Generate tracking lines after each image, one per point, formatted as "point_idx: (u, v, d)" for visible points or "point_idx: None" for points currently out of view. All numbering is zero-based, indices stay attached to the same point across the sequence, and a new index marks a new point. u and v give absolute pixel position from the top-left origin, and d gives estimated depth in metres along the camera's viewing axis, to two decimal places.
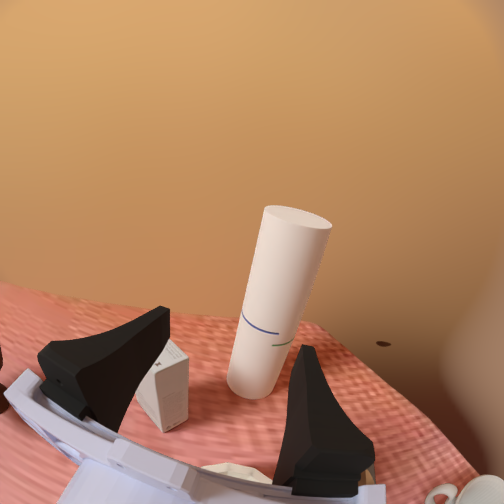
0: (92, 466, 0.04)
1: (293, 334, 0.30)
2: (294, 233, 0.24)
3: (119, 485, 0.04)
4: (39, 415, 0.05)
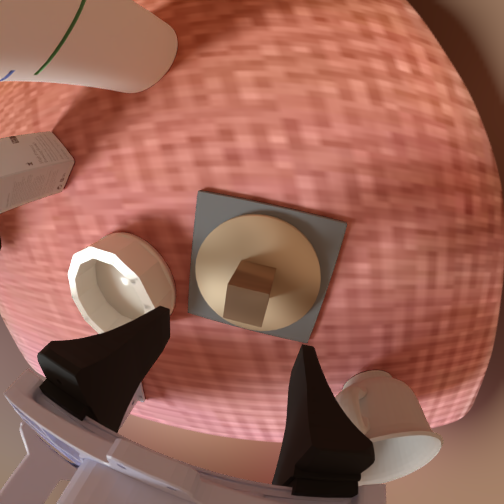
0: (92, 466, 0.04)
1: (51, 32, 0.06)
2: None
3: (119, 485, 0.04)
4: (39, 415, 0.05)
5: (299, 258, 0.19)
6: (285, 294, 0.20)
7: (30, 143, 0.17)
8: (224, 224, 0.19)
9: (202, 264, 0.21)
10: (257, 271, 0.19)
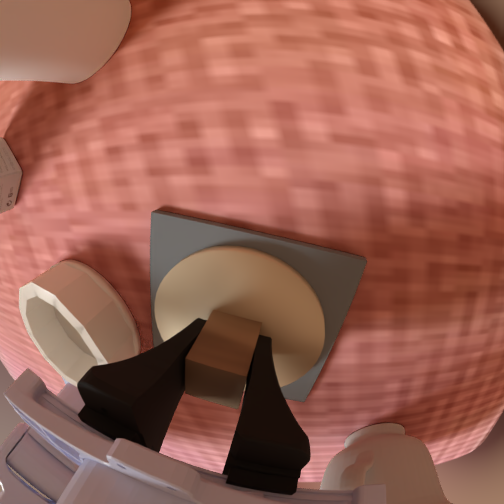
0: (92, 465, 0.04)
1: None
2: None
3: (119, 485, 0.04)
4: (39, 415, 0.05)
5: (296, 311, 0.13)
6: (275, 354, 0.14)
7: None
8: (186, 261, 0.13)
9: (162, 311, 0.15)
10: (233, 331, 0.12)
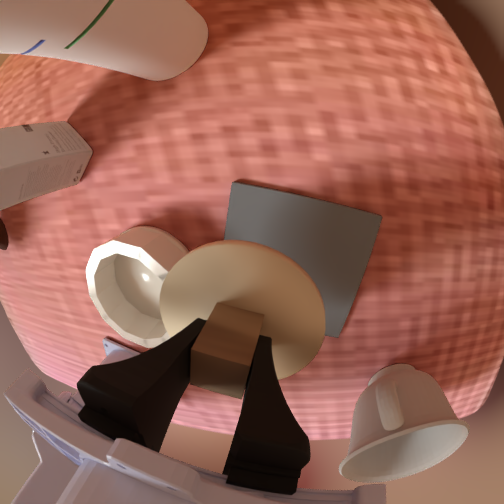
0: (92, 466, 0.04)
1: (92, 1, 0.05)
2: None
3: (119, 485, 0.04)
4: (39, 415, 0.05)
5: (297, 304, 0.13)
6: (277, 345, 0.15)
7: (45, 132, 0.16)
8: (191, 255, 0.13)
9: (167, 304, 0.15)
10: (237, 322, 0.13)
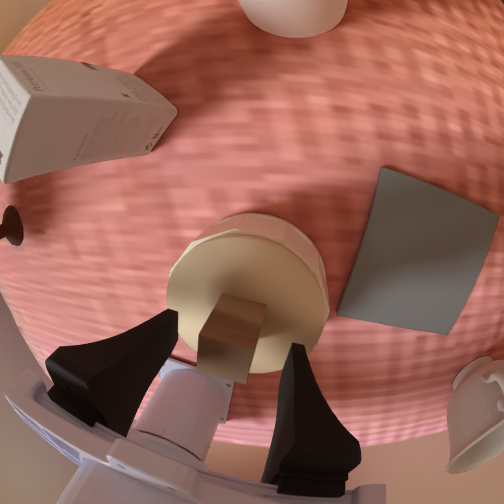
0: (92, 466, 0.04)
1: None
2: None
3: (119, 485, 0.04)
4: (39, 415, 0.05)
5: (297, 294, 0.14)
6: (278, 335, 0.16)
7: (114, 75, 0.12)
8: (198, 248, 0.14)
9: (174, 296, 0.16)
10: (241, 311, 0.14)
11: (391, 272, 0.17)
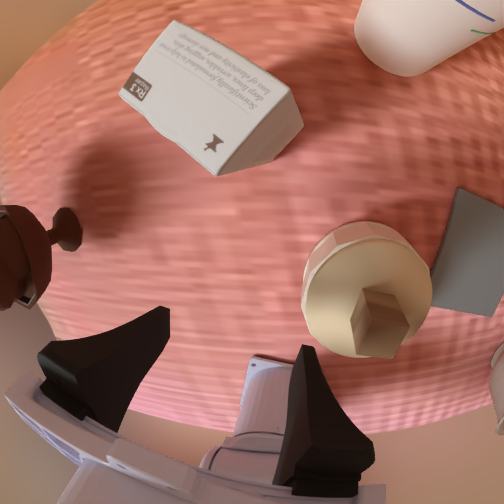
0: (92, 465, 0.04)
1: None
2: None
3: (119, 485, 0.04)
4: (39, 415, 0.05)
5: (417, 285, 0.16)
6: None
7: None
8: (349, 251, 0.16)
9: (315, 294, 0.18)
10: (384, 301, 0.16)
11: (459, 267, 0.19)
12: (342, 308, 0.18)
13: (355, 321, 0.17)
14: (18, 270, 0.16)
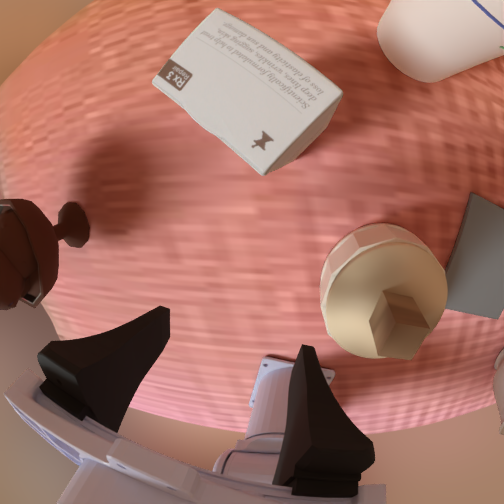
0: (92, 466, 0.04)
1: None
2: None
3: (119, 485, 0.04)
4: (39, 415, 0.05)
5: (434, 287, 0.16)
6: None
7: None
8: (372, 253, 0.16)
9: (337, 296, 0.18)
10: (404, 303, 0.16)
11: (470, 270, 0.19)
12: (362, 309, 0.18)
13: (375, 323, 0.16)
14: (24, 268, 0.16)
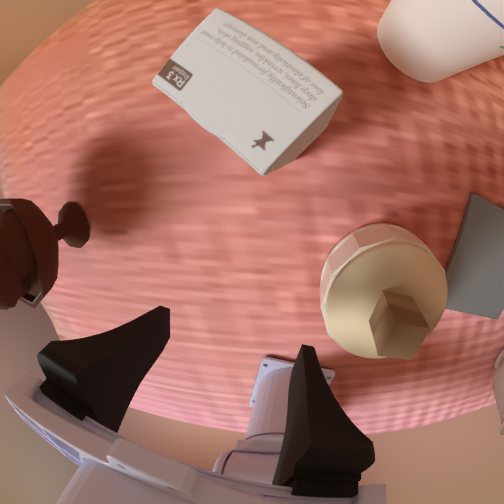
0: (92, 466, 0.04)
1: None
2: None
3: (119, 485, 0.04)
4: (39, 415, 0.05)
5: (434, 287, 0.16)
6: None
7: None
8: (372, 253, 0.16)
9: (337, 296, 0.18)
10: (404, 303, 0.16)
11: (470, 270, 0.19)
12: (362, 309, 0.18)
13: (375, 323, 0.16)
14: (24, 267, 0.16)
